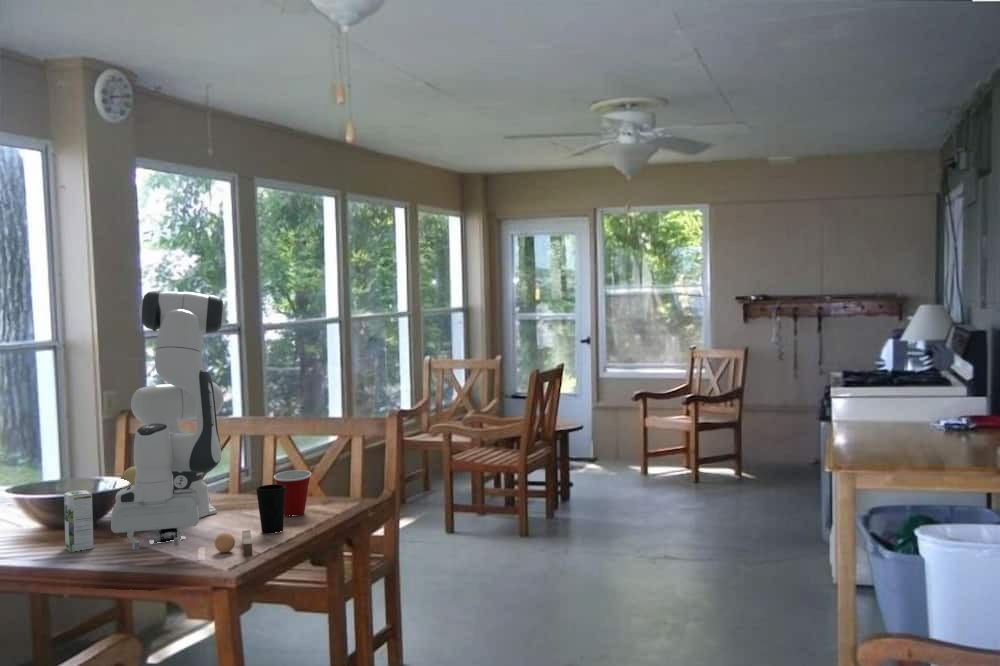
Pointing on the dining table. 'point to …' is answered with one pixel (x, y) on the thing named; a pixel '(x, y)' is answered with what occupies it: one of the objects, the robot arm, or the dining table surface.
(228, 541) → the ball
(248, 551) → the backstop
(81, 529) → the syrup box
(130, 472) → the pale yellow round toy
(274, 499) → the cup
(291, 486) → the plastic cup
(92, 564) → the dining table surface
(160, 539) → the black rectangular container
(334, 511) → the dining table surface
